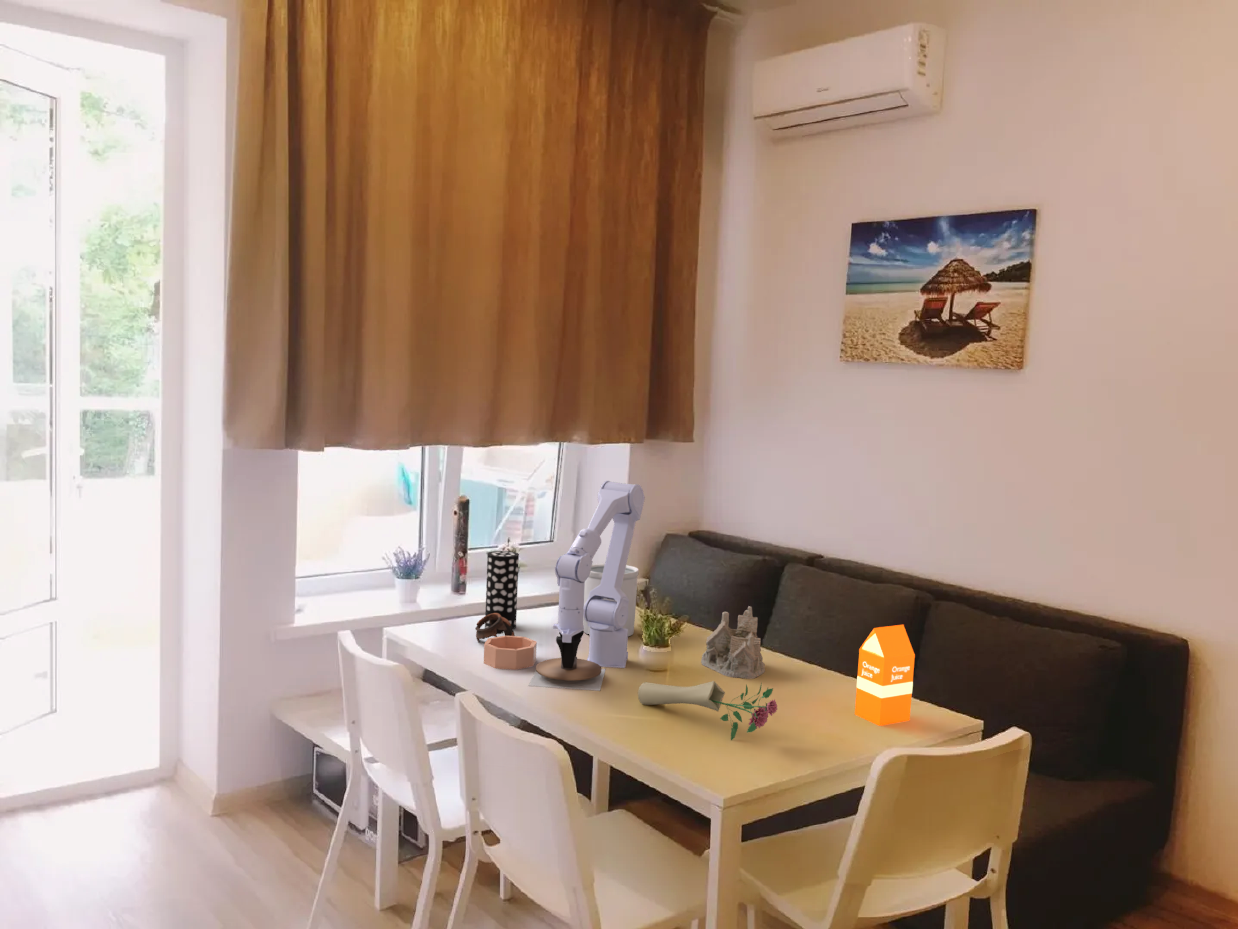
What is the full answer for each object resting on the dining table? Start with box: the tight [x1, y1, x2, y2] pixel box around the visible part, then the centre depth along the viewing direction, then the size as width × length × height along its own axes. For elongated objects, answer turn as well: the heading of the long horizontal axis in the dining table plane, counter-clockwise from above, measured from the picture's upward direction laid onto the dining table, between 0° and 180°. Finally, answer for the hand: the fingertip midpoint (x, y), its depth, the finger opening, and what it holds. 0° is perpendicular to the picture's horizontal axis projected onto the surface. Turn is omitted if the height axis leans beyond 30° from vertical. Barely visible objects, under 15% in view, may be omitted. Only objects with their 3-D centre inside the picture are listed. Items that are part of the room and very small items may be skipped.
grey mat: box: [527, 668, 606, 692], centre depth 240 cm, size 16×16×1 cm
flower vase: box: [637, 680, 778, 741], centre depth 213 cm, size 12×12×35 cm
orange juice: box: [854, 624, 916, 727], centre depth 223 cm, size 8×9×20 cm
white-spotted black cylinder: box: [484, 550, 520, 630], centre depth 281 cm, size 8×8×20 cm
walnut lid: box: [535, 655, 602, 680], centre depth 239 cm, size 15×15×3 cm
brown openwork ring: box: [475, 613, 516, 642], centre depth 269 cm, size 12×10×8 cm
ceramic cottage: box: [700, 605, 766, 680], centre depth 254 cm, size 16×16×15 cm
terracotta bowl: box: [483, 635, 538, 671], centre depth 249 cm, size 12×12×5 cm
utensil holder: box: [583, 563, 640, 637], centre depth 281 cm, size 15×15×18 cm
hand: (568, 665), depth 240 cm, fingers closed on walnut lid, 4 cm apart
